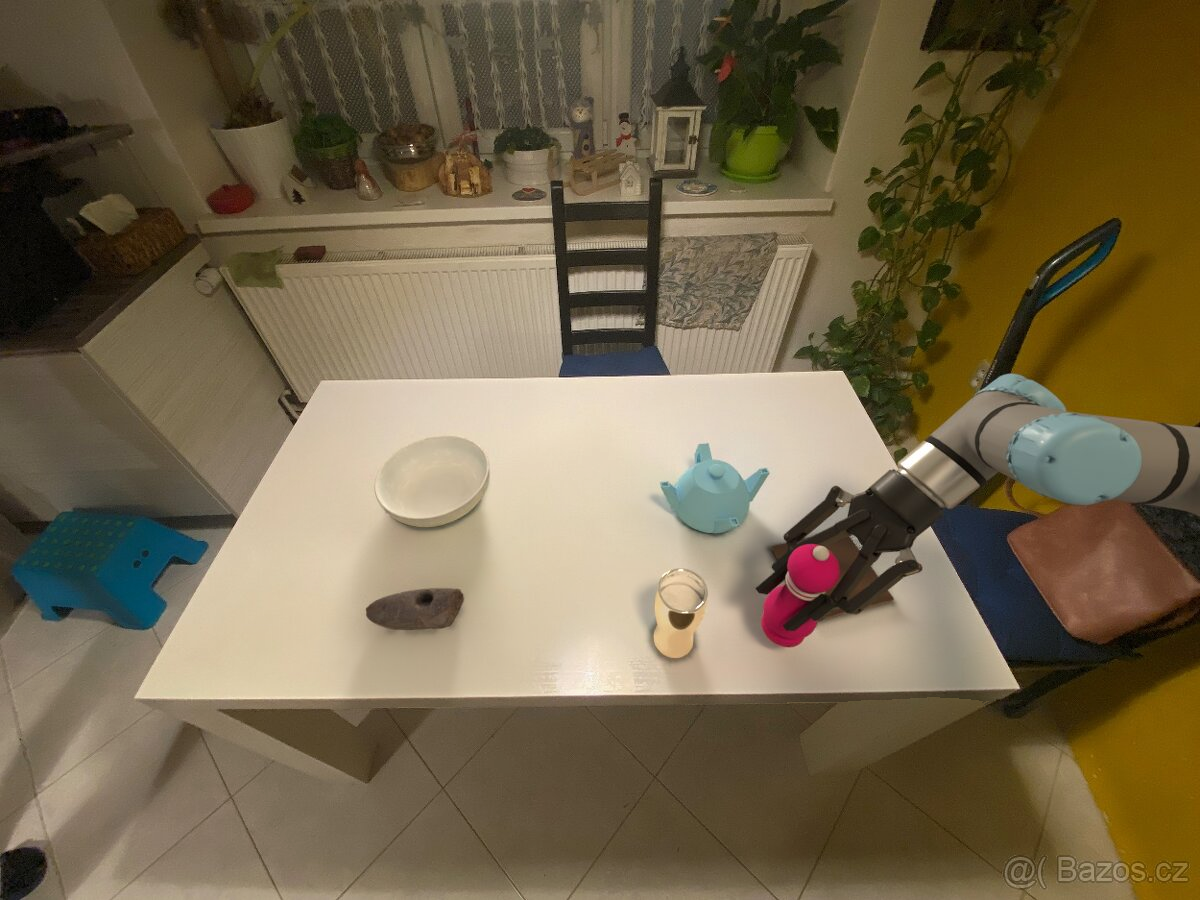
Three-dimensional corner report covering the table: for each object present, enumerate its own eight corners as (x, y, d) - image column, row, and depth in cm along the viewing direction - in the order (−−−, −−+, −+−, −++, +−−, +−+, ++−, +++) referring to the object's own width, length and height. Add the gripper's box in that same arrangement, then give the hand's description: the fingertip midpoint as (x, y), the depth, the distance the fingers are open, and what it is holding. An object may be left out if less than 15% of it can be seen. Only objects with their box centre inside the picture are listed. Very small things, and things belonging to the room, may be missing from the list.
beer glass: (697, 621, 80) (710, 570, 69) (695, 665, 75) (708, 618, 64) (652, 614, 81) (658, 563, 70) (648, 657, 76) (653, 609, 65)
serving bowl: (499, 455, 106) (494, 431, 101) (489, 538, 91) (482, 515, 87) (399, 460, 106) (389, 436, 101) (373, 544, 91) (359, 521, 86)
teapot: (765, 501, 96) (778, 462, 89) (729, 556, 88) (740, 518, 80) (694, 466, 103) (700, 427, 95) (654, 514, 94) (658, 476, 87)
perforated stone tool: (368, 637, 79) (351, 616, 74) (377, 606, 83) (362, 584, 78) (464, 633, 79) (454, 612, 74) (469, 602, 83) (460, 580, 78)
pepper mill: (758, 647, 72) (794, 571, 58) (756, 600, 77) (788, 520, 63) (811, 655, 71) (861, 580, 57) (805, 607, 76) (849, 528, 62)
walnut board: (891, 602, 81) (894, 598, 81) (813, 622, 79) (814, 619, 79) (842, 532, 91) (844, 528, 90) (770, 549, 89) (772, 545, 88)
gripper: (993, 552, 57) (832, 672, 64) (871, 448, 68) (746, 559, 76) (984, 541, 51) (810, 673, 59) (854, 431, 63) (722, 552, 70)
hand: (774, 609), depth 67 cm, fingers closed on pepper mill, 5 cm apart
